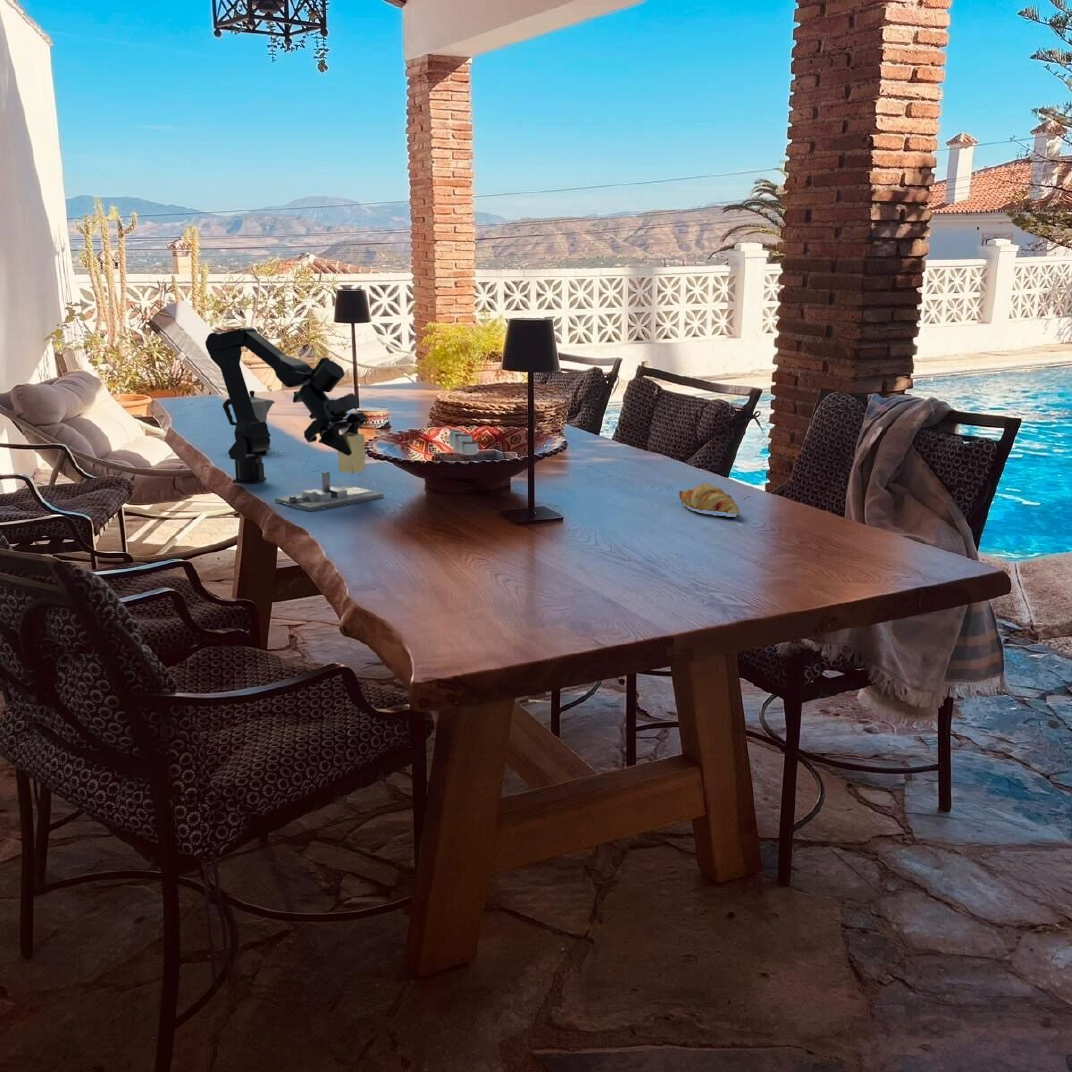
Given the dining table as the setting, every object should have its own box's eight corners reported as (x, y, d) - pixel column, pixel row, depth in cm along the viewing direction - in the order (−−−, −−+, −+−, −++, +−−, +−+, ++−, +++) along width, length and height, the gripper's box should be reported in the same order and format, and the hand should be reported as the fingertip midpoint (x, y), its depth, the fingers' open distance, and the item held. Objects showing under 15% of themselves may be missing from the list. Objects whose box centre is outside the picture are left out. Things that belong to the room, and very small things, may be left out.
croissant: (745, 533, 243) (759, 503, 243) (717, 518, 237) (732, 486, 237) (687, 513, 260) (700, 484, 260) (660, 498, 254) (674, 469, 254)
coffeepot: (277, 446, 327) (274, 388, 323) (276, 451, 319) (273, 392, 314) (226, 446, 324) (222, 389, 320) (224, 452, 315) (220, 392, 311)
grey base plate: (272, 502, 250) (271, 473, 248) (347, 489, 266) (347, 462, 264) (307, 512, 241) (306, 482, 239) (383, 497, 257) (382, 469, 255)
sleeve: (338, 471, 256) (337, 435, 254) (350, 468, 260) (349, 432, 258) (353, 473, 254) (352, 436, 252) (365, 470, 258) (364, 434, 256)
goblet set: (482, 489, 269) (482, 438, 266) (461, 490, 267) (461, 439, 264) (450, 469, 295) (450, 423, 291) (431, 470, 292) (430, 424, 289)
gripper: (311, 386, 246) (350, 437, 243) (360, 380, 262) (396, 427, 259) (287, 417, 251) (324, 466, 249) (336, 408, 267) (371, 455, 265)
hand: (355, 453), depth 255 cm, fingers closed on sleeve, 5 cm apart
